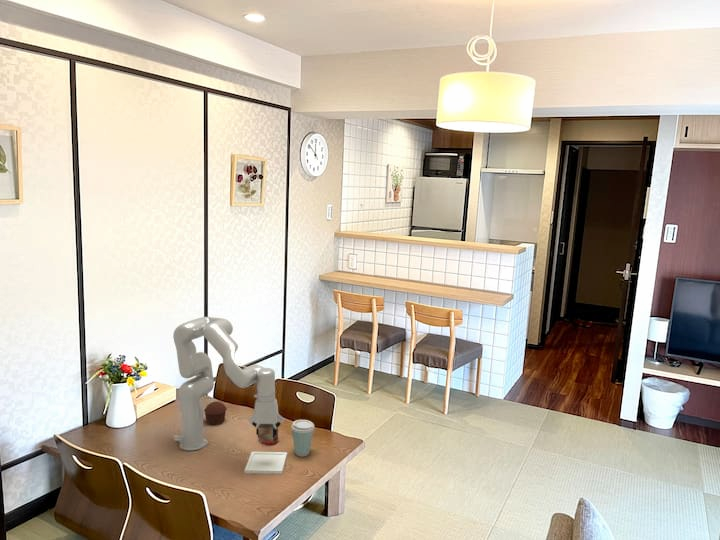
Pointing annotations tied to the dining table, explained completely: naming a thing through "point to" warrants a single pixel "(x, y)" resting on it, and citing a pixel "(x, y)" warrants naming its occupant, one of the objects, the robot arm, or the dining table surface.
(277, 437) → the canned food
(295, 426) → the disposable coffee cup
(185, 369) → the robot arm
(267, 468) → the plate
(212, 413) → the muffin
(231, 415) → the dining table surface
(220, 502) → the dining table surface
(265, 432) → the cube
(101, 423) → the dining table surface
